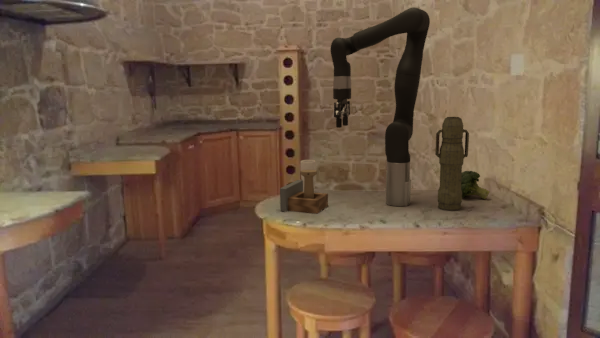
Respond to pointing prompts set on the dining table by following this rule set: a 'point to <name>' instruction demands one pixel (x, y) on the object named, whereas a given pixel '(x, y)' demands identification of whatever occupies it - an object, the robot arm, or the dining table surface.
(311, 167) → the drinking glass
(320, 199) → the walnut block
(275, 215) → the dining table surface
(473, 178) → the vegetable
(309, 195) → the handle
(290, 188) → the slate wall
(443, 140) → the thermos
